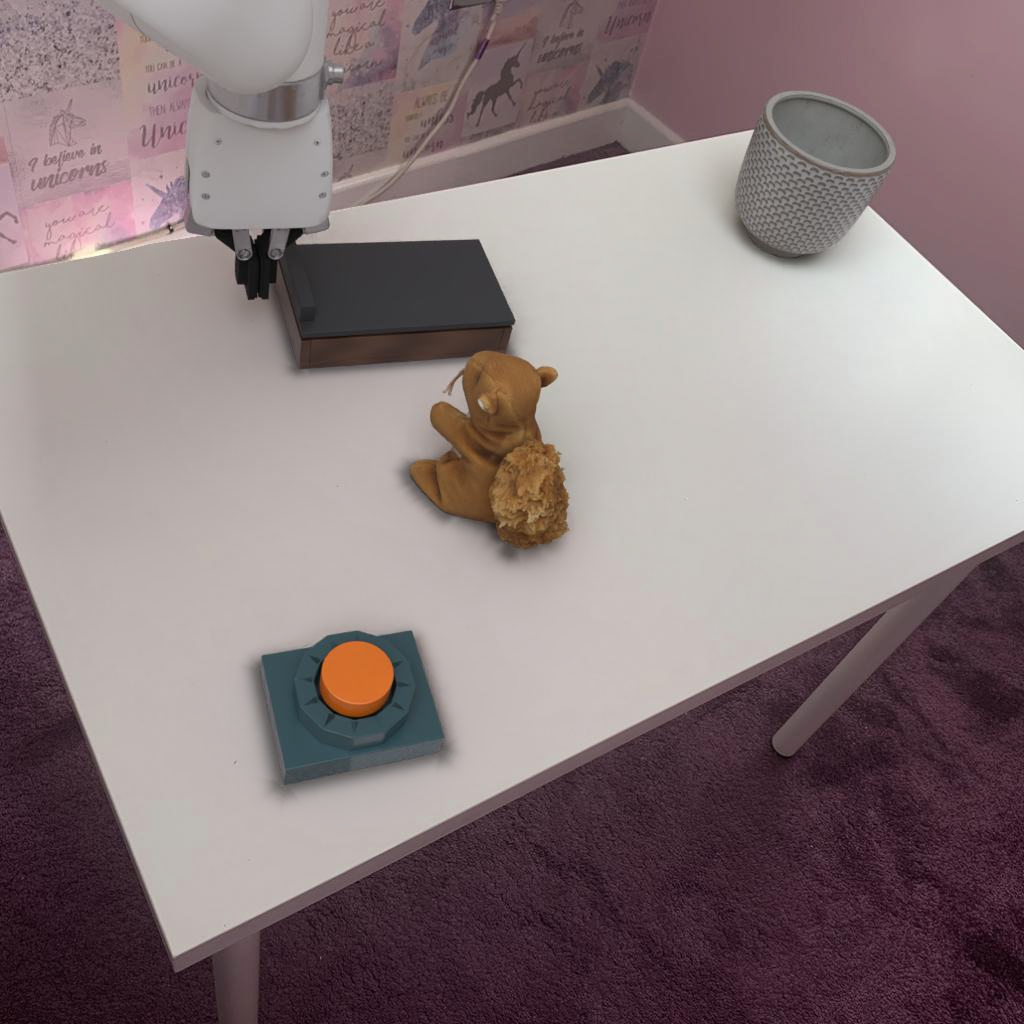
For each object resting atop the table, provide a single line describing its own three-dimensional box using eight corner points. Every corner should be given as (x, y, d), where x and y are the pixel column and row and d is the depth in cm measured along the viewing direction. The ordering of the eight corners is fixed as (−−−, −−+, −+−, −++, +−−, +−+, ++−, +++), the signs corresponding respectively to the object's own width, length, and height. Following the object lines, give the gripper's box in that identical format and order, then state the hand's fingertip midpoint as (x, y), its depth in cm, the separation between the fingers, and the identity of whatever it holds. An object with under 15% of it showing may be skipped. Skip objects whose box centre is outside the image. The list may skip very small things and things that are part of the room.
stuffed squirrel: (500, 422, 87) (538, 301, 77) (596, 550, 81) (651, 438, 71) (394, 456, 83) (420, 333, 72) (488, 595, 77) (530, 482, 66)
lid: (302, 338, 83) (304, 317, 82) (276, 250, 89) (277, 229, 87) (514, 325, 90) (520, 306, 88) (478, 244, 96) (482, 224, 94)
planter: (689, 211, 112) (735, 101, 102) (775, 185, 119) (826, 80, 109) (778, 294, 107) (836, 186, 97) (862, 261, 114) (925, 157, 104)
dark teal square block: (283, 785, 65) (287, 757, 62) (259, 671, 69) (262, 640, 66) (439, 752, 68) (450, 724, 65) (407, 646, 73) (416, 615, 69)
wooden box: (298, 369, 86) (301, 341, 84) (274, 281, 92) (275, 253, 89) (505, 354, 93) (513, 328, 90) (470, 273, 98) (476, 246, 96)
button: (327, 723, 64) (330, 710, 63) (312, 661, 66) (314, 646, 65) (398, 710, 65) (401, 696, 64) (380, 649, 68) (384, 635, 66)
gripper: (361, 50, 75) (336, 254, 89) (140, 41, 70) (151, 260, 84) (386, 112, 71) (357, 316, 85) (154, 107, 66) (163, 325, 80)
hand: (254, 287), depth 85 cm, fingers closed
